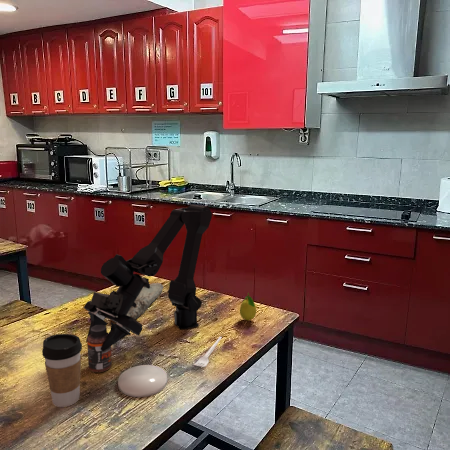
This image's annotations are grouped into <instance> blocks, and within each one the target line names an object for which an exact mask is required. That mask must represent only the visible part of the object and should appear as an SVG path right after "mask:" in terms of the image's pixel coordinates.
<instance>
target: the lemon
mask: <svg viewBox="0 0 450 450" xmlns="http://www.w3.org/2000/svg"><path fill="white" fill-rule="evenodd" d="M239 314H240V316H241V318H242V319H244V321H245V320H246V321H247V322H249V321H251V320H253V319H254V318H255V317H256V314H257V306H256V304H255V302H254V299H253V298H252V296H250V293H249V292H247V295H245V298H244V299H243V300H242V302H241V304H240V306H239Z"/></svg>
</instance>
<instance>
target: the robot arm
mask: <svg viewBox="0 0 450 450" xmlns="http://www.w3.org/2000/svg"><path fill="white" fill-rule="evenodd" d="M212 216H213V213H212V211H211V208H209V206H205V205H204V206H203V205H196V204H190V205H189V206H188V207H181V208H175V209H173V210H171V211H170V214H169V216H168V218H167V220H165V222H164V224H163V225H162V226H161V228H160V229H159V231H157V233H156V234H155V235H154V237H153V238H152V240H151V241H150V242H149V243H148V244H147V245H145V246H144V247H142V248H140V249H139V250H138V251H137V252H136V253H135V254H134V255H133V257H132V258H129V259H127V260H126V259H125V258H124V257H123V256H122V255H120V254H118V253H117V254H115V255H114V257H111V258H109V259H107V260H106V261H105V262H104V263H102V265H101V268H100V274H101V275H102V276H103V277H104V278H105V279H107V280H108V281H109V282H111V283H112V284H113V285H114V286H116V287H118V288H117V290H112V291H111V292H110V293H109V294H107V293H102V292H97V291H94V292H93V293H92V297H91V300H89V301H87V302H86V303H85V304H84V306H83V309H84V310H86V311H88V312H87V314H88V316H89V317H90V324H89V328H88V332H87V337H86V340H85V343H87V338H88V336H89V335H90V334H91V328H92V327H93V326H95V325H105V326H106V327H107V325H108V322H106V321H105V319H108V320H111V321H110V331H108V333H109V334H108V335H107V337H106V339H105V341H104V343H103V345H102V347H101V350H102V351H105V350H106V349H108V348H109V347H110V346H111V347H113V345H114V344H116V343H117V342H119V341H120V340H122V339H124V338H125V337H127V336H131V335H132V334H134V335H137V336H140V334H141V333H142V331H143V324H142V323H141V322H139V321H138V320H137V319H134V318H132V317H130V316H127V313H128V312H129V310H130V309H131V307H135V306H136V305H137V304H136V303H134V302H135V300H136V299H137V297H138V295H139V294H140V292H141V290H142V289H143V287H145V288H148V289H149V288H150V284H151V283H150V282H149V281H150V280H149V278H147V277H154V276H156V275H157V273H158V272H159V270H160V268H161V266H162V265H163V262H164V255H165V252H166V251H167V249H168V248H169V246H170V245H171V244H172V242H173V240H174V239H175V238H176V237H177V236H178V234H179V232H180V231H181V229H182V228H183V227H185V231H186V235H185V241H184V245H183V250H182V255H181V260H180V265H179V270H178V274H177V276H176V277H175V279H174V280H172V279H171V280H170V281H169V284H168V285H169V287H168V290H167V293H168V300H169V301H170V302H171V303H170V304H171V306H174V307H175V311H173V313H174V317H173V318H174V324H175V326H177V328H178V329H179V330H187V329H192V328H198V327H200V325H199V323H198V311H199V309H200V308H202V303H203V301H202V300H201V299H200V298H199V297H198V296H197V286H196V284H195V280H194V279H195V278H194V277H195V273H196V267H197V263H198V259H199V253H200V252H199V251H200V247H201V243H202V237H203V235H204V233H205V232H206V231H207V230H208V229H209V228H210V225H211V221H212V218H213V217H212ZM142 275H144V276H146V277H143V276H142ZM112 321H113V322H112ZM115 322H117V323H115Z"/></svg>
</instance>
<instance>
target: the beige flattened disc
mask: <svg viewBox="0 0 450 450" xmlns="http://www.w3.org/2000/svg"><path fill="white" fill-rule="evenodd" d="M117 384H118V385H117V387H118V389H119V391H120V393H122V394H124V395H126V396H129V397H133V398H144V397H150V396H154V395H155V394H156V395H157V394H158V393H160V392H161V391H163V389H164V388H166V386H167V384H168V373H167V372H166V370H164V369H163V368H162V367H160V366H157V365H152V364H142V365H136V366H132V367H130V368H128V369H125V371H123V372H122V373H121V374H120V375H119V377H118V379H117Z"/></svg>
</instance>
